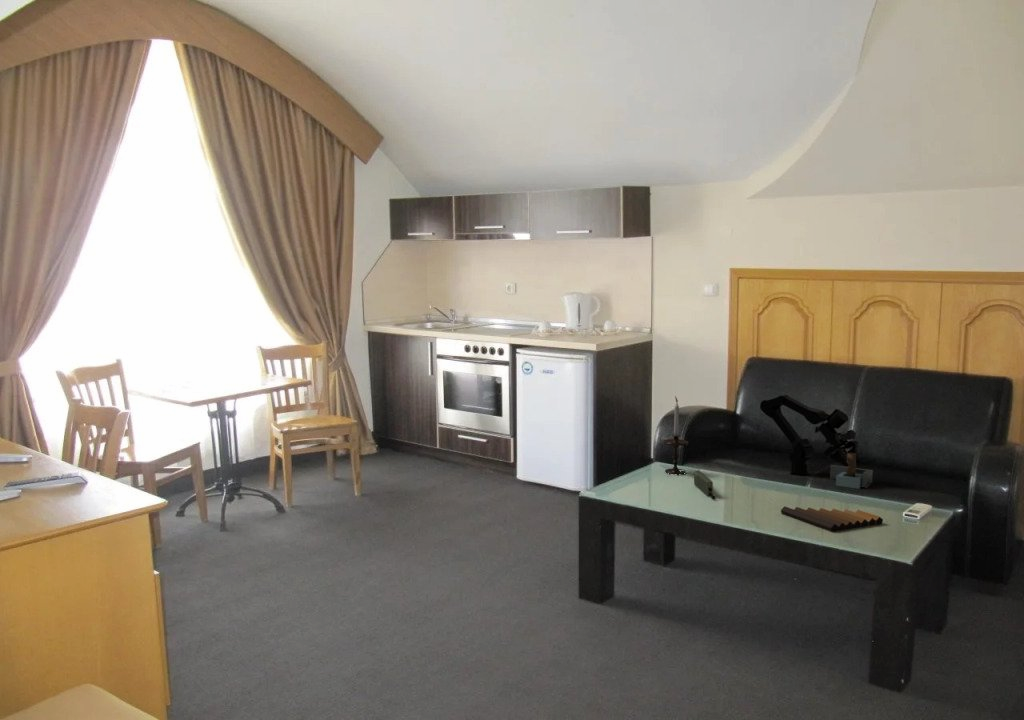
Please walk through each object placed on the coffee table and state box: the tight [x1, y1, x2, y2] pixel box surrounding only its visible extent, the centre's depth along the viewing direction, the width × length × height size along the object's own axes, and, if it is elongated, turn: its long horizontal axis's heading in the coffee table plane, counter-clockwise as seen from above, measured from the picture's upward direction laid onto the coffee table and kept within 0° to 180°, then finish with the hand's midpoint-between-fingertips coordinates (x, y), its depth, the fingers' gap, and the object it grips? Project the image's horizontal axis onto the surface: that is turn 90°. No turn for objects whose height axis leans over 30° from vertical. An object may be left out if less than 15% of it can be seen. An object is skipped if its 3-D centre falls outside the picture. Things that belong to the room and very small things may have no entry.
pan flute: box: [780, 505, 884, 533], centre depth 318 cm, size 25×3×25 cm
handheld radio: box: [693, 469, 716, 500], centre depth 356 cm, size 7×3×25 cm
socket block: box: [835, 472, 862, 489], centre depth 370 cm, size 10×10×4 cm
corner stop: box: [829, 464, 874, 487], centre depth 372 cm, size 17×10×6 cm, turn 55°
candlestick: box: [663, 395, 689, 475], centre depth 389 cm, size 11×11×35 cm
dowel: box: [846, 453, 857, 477], centre depth 369 cm, size 4×4×13 cm
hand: (853, 464), depth 368 cm, fingers open, 9 cm apart
